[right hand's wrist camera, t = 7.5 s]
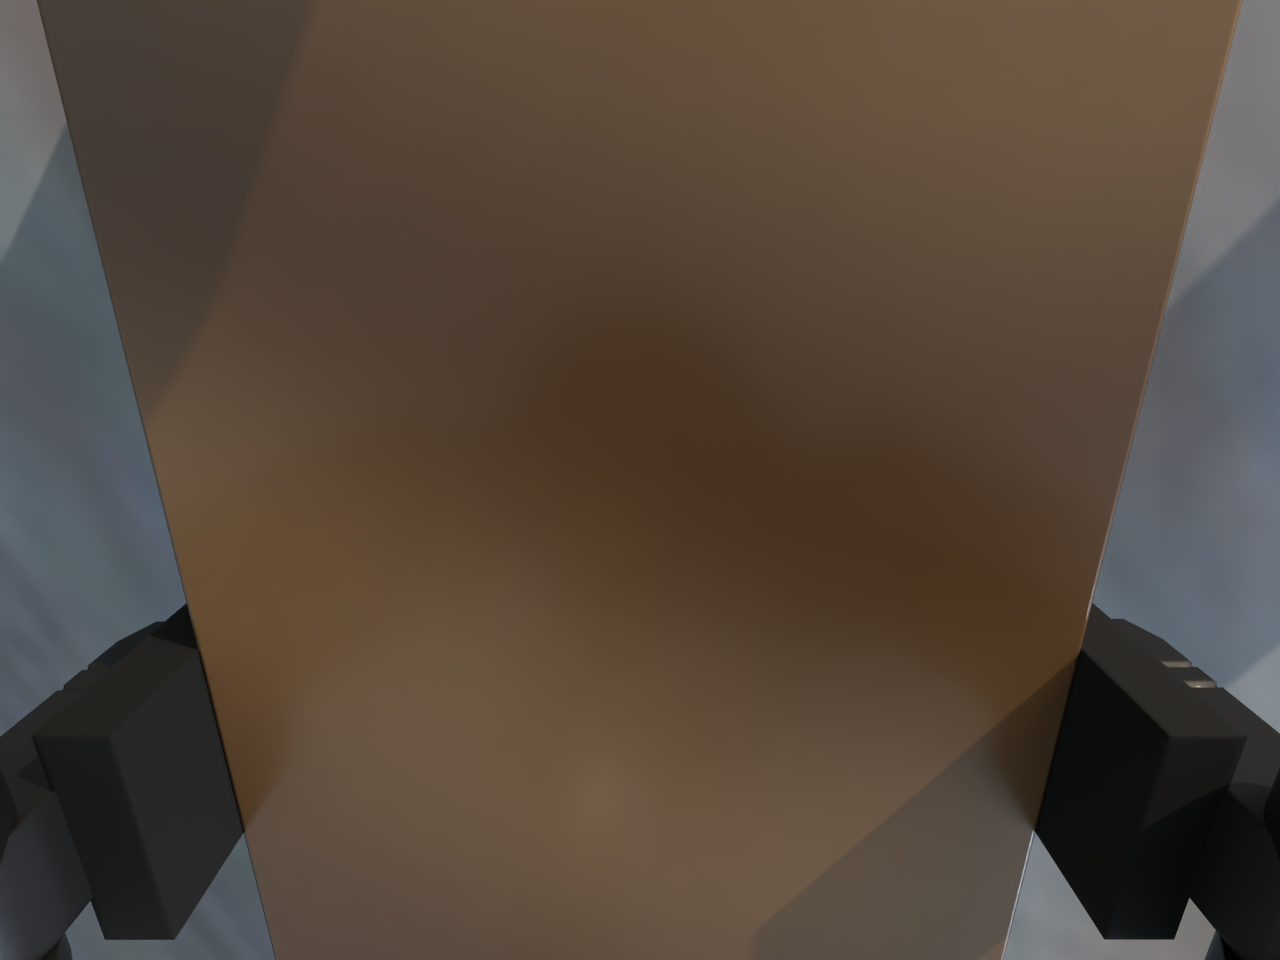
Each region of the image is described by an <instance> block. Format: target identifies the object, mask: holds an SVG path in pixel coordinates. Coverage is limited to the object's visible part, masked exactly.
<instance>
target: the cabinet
mask: <svg viewBox="0 0 1280 960" xmlns="http://www.w3.org/2000/svg"><path fill="white" fill-rule="evenodd" d="M37 3H38V7H39V11H40V15H41V19H42V23H43V27H44V31H45V35H46V39H47V43H48V47H49V51H50V55H51V59H52V64H53V68H54V72H55V76H56V80H57V84H58V88H59V92H60V96H61V100H62V104H63V108H64V112H65V116H66V120H67V124H68V128H69V132H70V136H71V140H72V144H73V148H74V152H75V156H76V160H77V164H78V168H79V172H80V176H81V180H82V184H83V188H84V192H85V196H86V200H87V204H88V208H89V212H90V216H91V220H92V224H93V228H94V232H95V236H96V240H97V244H98V248H99V252H100V256H101V260H102V264H103V268H104V272H105V276H106V280H107V284H108V288H109V293H110V297H111V301H112V305H113V309H114V313H115V317H116V321H117V325H118V329H119V333H120V337H121V341H122V345H123V349H124V353H125V357H126V361H127V365H128V369H129V373H130V377H131V381H132V385H133V389H134V393H135V397H136V401H137V405H138V409H139V413H140V417H141V421H142V425H143V429H144V433H145V437H146V441H147V445H148V449H149V453H150V457H151V461H152V465H153V469H154V473H155V477H156V481H157V485H158V489H159V493H160V497H161V501H162V505H163V509H164V513H165V517H166V521H167V526H168V530H169V534H170V538H171V542H172V546H173V550H174V554H175V558H176V562H177V566H178V570H179V574H180V578H181V582H182V586H183V590H184V594H185V598H186V602H187V606H188V610H189V614H190V618H191V622H192V626H193V630H194V634H195V638H196V642H197V646H198V650H199V654H200V658H201V662H202V666H203V670H204V674H205V678H206V682H207V686H208V690H209V694H210V698H211V702H212V706H213V710H214V714H215V718H216V722H217V726H218V730H219V734H220V738H221V742H222V746H223V750H224V755H225V759H226V763H227V767H228V771H229V775H230V779H231V783H232V787H233V791H234V795H235V799H236V803H237V807H238V811H239V815H240V819H241V823H242V827H243V831H244V835H245V839H246V843H247V847H248V851H249V855H250V859H251V863H252V867H253V871H254V875H255V879H256V883H257V887H258V891H259V895H260V899H261V903H262V907H263V911H264V915H265V919H266V923H267V927H268V931H269V935H270V939H271V943H272V947H273V951H274V955H275V959H276V960H1003V959H1004V955H1005V951H1006V947H1007V943H1008V939H1009V935H1010V931H1011V927H1012V923H1013V919H1014V915H1015V911H1016V907H1017V903H1018V899H1019V895H1020V891H1021V887H1022V883H1023V879H1024V875H1025V871H1026V867H1027V863H1028V859H1029V855H1030V851H1031V846H1032V842H1033V838H1034V834H1035V830H1036V826H1037V822H1038V818H1039V814H1040V810H1041V806H1042V802H1043V798H1044V794H1045V790H1046V786H1047V782H1048V778H1049V774H1050V770H1051V766H1052V762H1053V758H1054V754H1055V750H1056V746H1057V742H1058V738H1059V734H1060V730H1061V726H1062V722H1063V718H1064V714H1065V710H1066V706H1067V702H1068V698H1069V694H1070V690H1071V686H1072V682H1073V678H1074V674H1075V670H1076V666H1077V662H1078V658H1079V654H1080V650H1081V646H1082V642H1083V638H1084V634H1085V630H1086V626H1087V622H1088V618H1089V614H1090V610H1091V606H1092V602H1093V598H1094V594H1095V590H1096V586H1097V582H1098V578H1099V574H1100V570H1101V566H1102V562H1103V558H1104V554H1105V550H1106V546H1107V542H1108V538H1109V534H1110V530H1111V526H1112V522H1113V518H1114V514H1115V510H1116V506H1117V502H1118V498H1119V493H1120V489H1121V485H1122V481H1123V477H1124V473H1125V469H1126V465H1127V461H1128V457H1129V453H1130V449H1131V445H1132V441H1133V437H1134V433H1135V429H1136V425H1137V421H1138V417H1139V413H1140V409H1141V405H1142V401H1143V397H1144V393H1145V389H1146V385H1147V381H1148V377H1149V373H1150V369H1151V365H1152V361H1153V357H1154V353H1155V349H1156V345H1157V341H1158V337H1159V333H1160V329H1161V325H1162V321H1163V317H1164V313H1165V309H1166V305H1167V301H1168V297H1169V293H1170V289H1171V285H1172V281H1173V277H1174V273H1175V269H1176V265H1177V261H1178V257H1179V253H1180V249H1181V245H1182V241H1183V237H1184V233H1185V229H1186V225H1187V221H1188V217H1189V213H1190V209H1191V205H1192V201H1193V197H1194V193H1195V189H1196V185H1197V181H1198V177H1199V173H1200V169H1201V165H1202V161H1203V157H1204V153H1205V149H1206V145H1207V141H1208V136H1209V132H1210V128H1211V124H1212V120H1213V116H1214V112H1215V108H1216V104H1217V100H1218V96H1219V92H1220V88H1221V84H1222V80H1223V76H1224V72H1225V68H1226V64H1227V60H1228V56H1229V52H1230V48H1231V44H1232V40H1233V36H1234V32H1235V28H1236V24H1237V20H1238V16H1239V12H1240V8H1241V4H1242V0H37Z"/></svg>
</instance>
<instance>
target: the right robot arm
mask: <svg viewBox="0 0 1280 960" xmlns="http://www.w3.org/2000/svg"><path fill="white" fill-rule="evenodd" d="M243 832H244V831H243V827H242V823H241V819H240V815H239V811H238V807H237V803H236V799H235V795H234V791H233V787H232V783H231V779H230V775H229V771H228V767H227V763H226V759H225V755H224V750H223V746H222V742H221V738H220V734H219V730H218V726H217V722H216V718H215V714H214V710H213V706H212V702H211V698H210V694H209V690H208V686H207V682H206V678H205V674H204V670H203V666H202V662H201V658H200V654H199V650H198V646H197V642H196V638H195V634H194V630H193V626H192V622H191V618H190V614H189V610H188V606H187V603H186V604H185V605H184V606H183V607H182V608H180V609H179V610H178V611H177V612H176V613H175V614H173V615H172V616H171V617H170V618H169V619H167V620H166V621H165V622H155V623H153V624H151V625H149V626H147V627H145V628H143V629H141V630H139V631H137V632H135V633H133V634H131V635H129V636H128V637H126V638H124V639H122V640H120V641H118V642H116V643H115V644H114V645H113V646H111V647H110V648H109V649H108V650H107V651H105V652H104V653H103V654H102V655H100V656H99V657H98V658H97V659H95V660H94V661H93V662H92V663H91V664H89V665H88V670H82V671H81V672H80V673H78V674H77V675H76V676H75V677H73V678H72V679H71V680H70V681H68V682H67V683H66V684H65V685H64V688H63V690H62V691H56V692H55V693H54V694H52V695H51V696H50V697H49V698H48V699H46V700H45V701H44V702H43V703H41V704H40V705H39V706H38V707H36V708H35V709H34V710H33V711H32V712H30V713H29V714H28V715H27V716H25V717H24V718H23V719H22V720H21V721H19V722H18V723H17V724H16V725H14V726H13V727H12V728H11V729H9V730H8V731H7V732H6V733H5V734H3V735H2V736H1V737H0V960H72V954H71V947H70V945H69V942H68V939H67V937H66V934H65V932H66V930H67V929H68V928H69V927H70V925H71V924H72V923H73V922H74V920H75V919H76V918H77V917H78V915H79V914H80V913H81V912H82V910H83V909H84V908H85V907H86V905H87V904H88V903H89V902H90V900H91V902H92V905H93V908H94V911H95V913H96V916H97V919H98V922H99V924H100V927H101V930H102V933H103V935H104V938H105V940H175V938H176V937H177V935H178V933H179V932H180V930H181V929H182V927H183V926H184V924H185V923H186V921H187V919H188V918H189V916H190V915H191V913H192V912H193V910H194V909H195V907H196V905H197V904H198V902H199V901H200V899H201V898H202V896H203V895H204V893H205V891H206V890H207V888H208V887H209V885H210V884H211V882H212V881H213V879H214V877H215V876H216V874H217V873H218V871H219V870H220V868H221V867H222V865H223V863H224V862H225V860H226V859H227V857H228V856H229V854H230V853H231V851H232V850H233V848H234V846H235V845H236V843H237V842H238V840H239V839H240V837H241V836H242V834H243ZM1035 832H1036V834H1037V835H1038V837H1039V838H1040V840H1041V841H1042V843H1043V844H1044V846H1045V848H1046V849H1047V851H1048V852H1049V854H1050V855H1051V857H1052V858H1053V860H1054V862H1055V863H1056V865H1057V866H1058V868H1059V869H1060V871H1061V872H1062V874H1063V876H1064V877H1065V879H1066V880H1067V882H1068V883H1069V885H1070V886H1071V888H1072V890H1073V891H1074V893H1075V894H1076V896H1077V897H1078V899H1079V900H1080V902H1081V904H1082V905H1083V907H1084V908H1085V910H1086V911H1087V913H1088V914H1089V916H1090V918H1091V919H1092V921H1093V922H1094V924H1095V925H1096V927H1097V928H1098V930H1099V932H1100V933H1101V935H1102V936H1103V938H1104V939H1174V938H1175V935H1176V933H1177V930H1178V927H1179V924H1180V922H1181V919H1182V916H1183V913H1184V911H1185V908H1186V905H1187V902H1188V900H1189V897H1190V899H1191V900H1192V901H1193V902H1194V904H1195V905H1196V906H1197V907H1198V908H1199V910H1200V911H1201V912H1202V913H1203V915H1204V916H1205V917H1206V918H1207V920H1208V921H1209V922H1210V923H1211V925H1212V926H1213V927H1214V928H1215V930H1216V932H1215V934H1214V937H1213V939H1212V942H1211V945H1210V947H1209V950H1208V952H1207V955H1206V957H1205V960H1280V734H1279V733H1278V732H1277V731H1276V730H1275V729H1273V728H1272V727H1271V726H1270V725H1268V724H1267V723H1266V722H1265V721H1263V720H1262V719H1261V718H1260V717H1258V716H1257V715H1256V714H1255V713H1253V712H1252V711H1251V710H1250V709H1249V708H1247V707H1246V706H1245V705H1244V704H1242V703H1241V702H1240V701H1239V700H1237V699H1236V698H1235V697H1234V696H1232V695H1231V694H1230V693H1229V692H1227V691H1226V690H1225V689H1224V688H1217V686H1216V682H1215V681H1214V680H1213V679H1211V678H1210V677H1209V676H1208V675H1206V674H1205V673H1204V672H1203V671H1201V670H1200V669H1199V668H1198V667H1192V662H1190V661H1189V660H1188V659H1187V658H1185V657H1184V656H1183V655H1182V654H1180V653H1179V652H1178V651H1177V650H1175V649H1174V648H1173V647H1172V646H1171V645H1169V644H1168V643H1167V642H1166V641H1164V640H1163V639H1161V638H1159V637H1158V636H1156V635H1154V634H1152V633H1150V632H1148V631H1146V630H1144V629H1142V628H1140V627H1138V626H1136V625H1134V624H1132V623H1130V622H1128V621H1126V620H1124V619H1111V618H1109V617H1108V616H1107V615H1106V614H1105V613H1103V612H1102V611H1101V610H1100V609H1099V608H1098V607H1096V606H1095V605H1094V604H1093V603H1092V606H1091V610H1090V614H1089V618H1088V622H1087V626H1086V630H1085V634H1084V638H1083V642H1082V646H1081V650H1080V654H1079V658H1078V662H1077V666H1076V670H1075V674H1074V678H1073V682H1072V686H1071V690H1070V694H1069V698H1068V702H1067V706H1066V710H1065V714H1064V718H1063V722H1062V726H1061V730H1060V734H1059V738H1058V742H1057V746H1056V750H1055V754H1054V758H1053V762H1052V766H1051V770H1050V774H1049V778H1048V782H1047V786H1046V790H1045V794H1044V798H1043V802H1042V806H1041V810H1040V814H1039V818H1038V822H1037V826H1036V830H1035Z"/></svg>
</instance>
